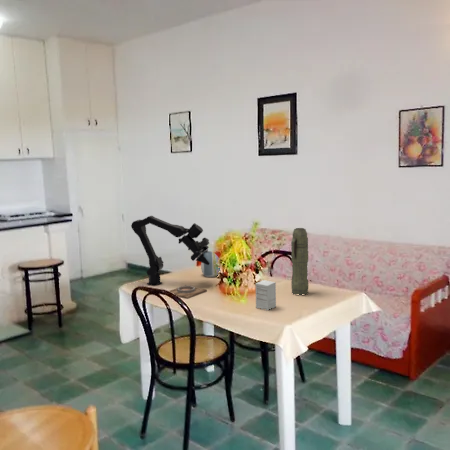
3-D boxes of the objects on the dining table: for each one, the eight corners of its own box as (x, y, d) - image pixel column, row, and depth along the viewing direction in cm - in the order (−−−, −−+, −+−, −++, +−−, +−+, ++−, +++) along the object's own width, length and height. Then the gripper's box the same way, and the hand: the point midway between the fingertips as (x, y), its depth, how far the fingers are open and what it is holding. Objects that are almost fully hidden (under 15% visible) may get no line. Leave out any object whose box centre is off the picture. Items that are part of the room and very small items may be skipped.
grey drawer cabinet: (264, 304, 245) (263, 279, 244) (276, 306, 241) (276, 281, 239) (255, 308, 240) (254, 283, 238) (267, 310, 235) (267, 285, 233)
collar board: (165, 293, 267) (165, 289, 267) (185, 287, 280) (185, 282, 279) (187, 298, 257) (187, 294, 257) (206, 291, 270) (206, 287, 269)
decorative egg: (221, 277, 298) (220, 253, 296) (201, 278, 298) (200, 254, 295) (221, 272, 310) (220, 249, 308) (201, 273, 310) (200, 250, 307)
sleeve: (202, 274, 279) (201, 252, 277) (207, 272, 283) (207, 250, 281) (208, 276, 276) (208, 253, 274) (214, 274, 280) (213, 251, 278)
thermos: (286, 294, 261) (286, 229, 256) (298, 289, 270) (298, 226, 264) (300, 297, 255) (300, 231, 250) (312, 292, 264) (312, 227, 259)
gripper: (195, 237, 268) (215, 257, 267) (204, 231, 285) (223, 250, 285) (182, 250, 271) (202, 270, 270) (192, 244, 289) (211, 263, 288)
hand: (210, 263), depth 278 cm, fingers closed on sleeve, 5 cm apart
